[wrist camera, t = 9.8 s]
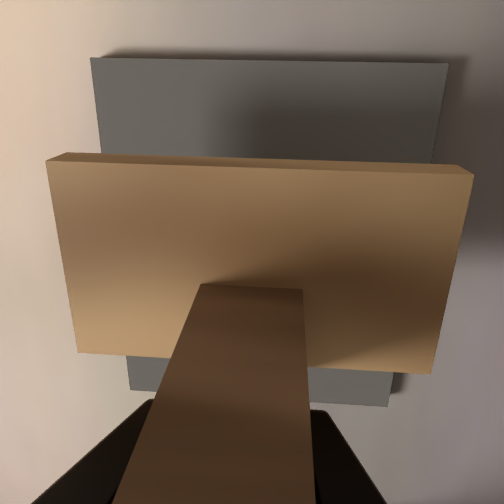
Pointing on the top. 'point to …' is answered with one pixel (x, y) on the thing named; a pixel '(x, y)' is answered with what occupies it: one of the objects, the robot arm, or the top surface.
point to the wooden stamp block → (251, 299)
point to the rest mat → (271, 138)
